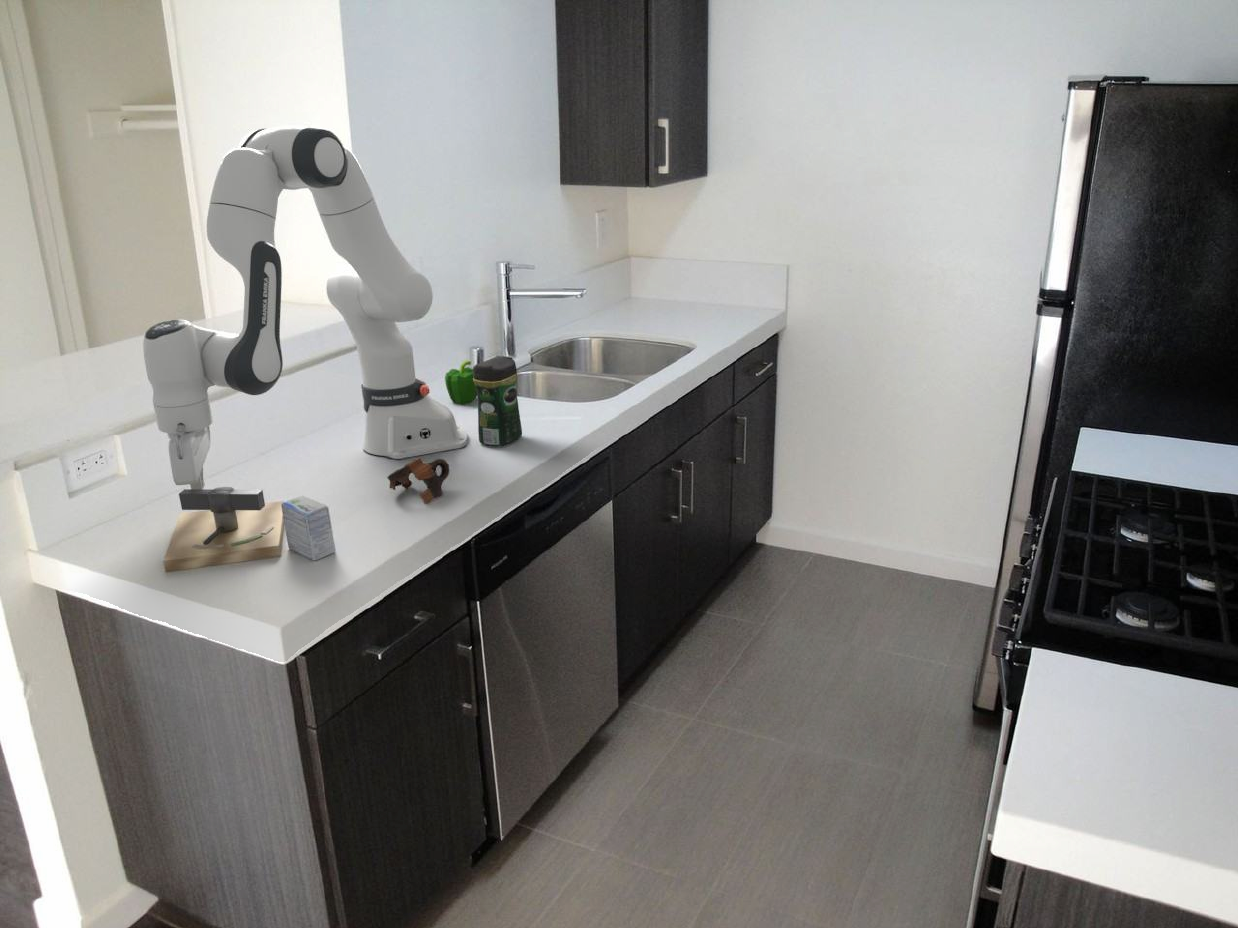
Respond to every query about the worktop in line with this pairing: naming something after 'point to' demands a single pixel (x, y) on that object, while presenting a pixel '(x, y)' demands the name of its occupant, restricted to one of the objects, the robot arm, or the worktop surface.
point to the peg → (222, 505)
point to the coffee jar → (497, 401)
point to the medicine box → (308, 527)
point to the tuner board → (225, 538)
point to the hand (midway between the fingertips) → (198, 490)
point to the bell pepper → (461, 384)
